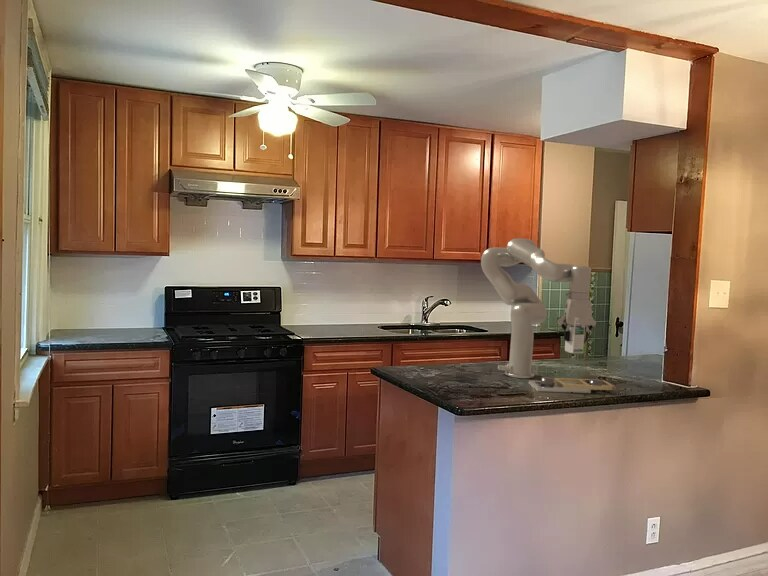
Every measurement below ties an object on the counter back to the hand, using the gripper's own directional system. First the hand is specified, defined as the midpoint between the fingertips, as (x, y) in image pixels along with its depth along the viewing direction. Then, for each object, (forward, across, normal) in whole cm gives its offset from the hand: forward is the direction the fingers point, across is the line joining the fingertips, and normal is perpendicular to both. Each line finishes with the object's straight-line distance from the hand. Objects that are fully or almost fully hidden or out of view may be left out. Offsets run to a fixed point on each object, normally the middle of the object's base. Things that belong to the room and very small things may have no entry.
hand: (575, 340), depth 247 cm
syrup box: (+5, 0, 0) cm, 5 cm away
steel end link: (+20, -5, 0) cm, 20 cm away
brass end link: (+20, +5, 0) cm, 20 cm away
